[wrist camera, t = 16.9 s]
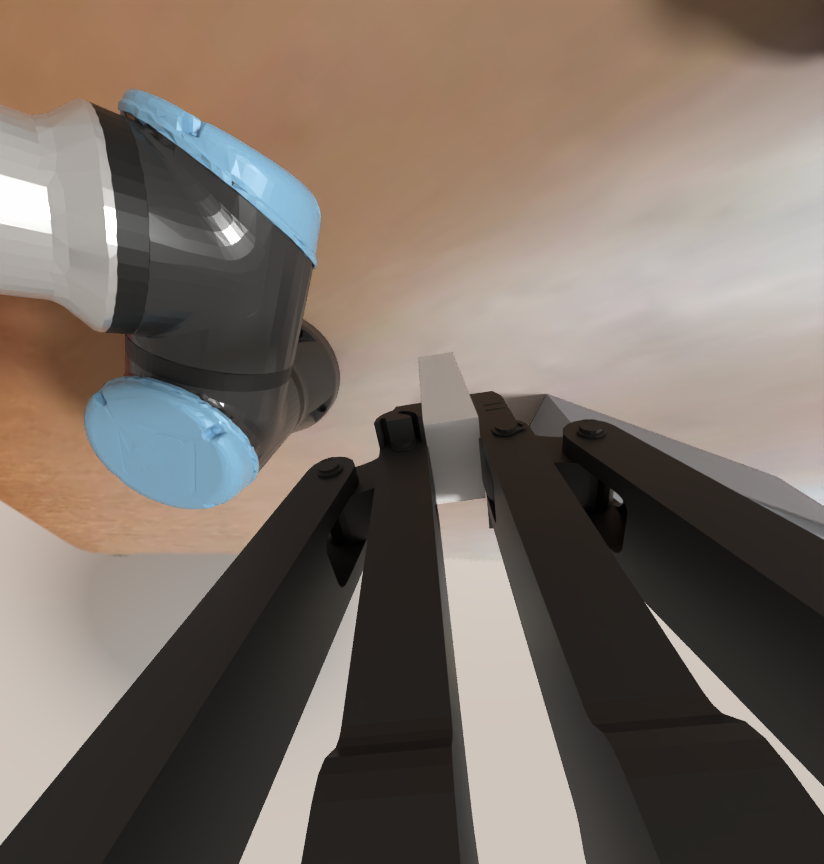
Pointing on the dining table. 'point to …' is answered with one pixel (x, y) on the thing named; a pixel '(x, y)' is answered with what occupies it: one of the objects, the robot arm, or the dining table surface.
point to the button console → (696, 464)
